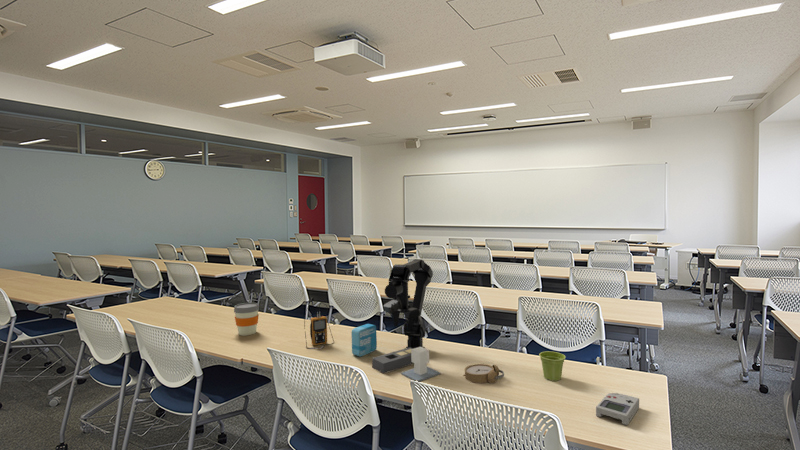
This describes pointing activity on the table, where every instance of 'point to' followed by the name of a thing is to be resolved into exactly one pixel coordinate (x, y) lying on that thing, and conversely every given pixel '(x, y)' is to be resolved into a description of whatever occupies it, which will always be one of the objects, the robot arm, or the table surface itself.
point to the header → (392, 360)
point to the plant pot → (552, 365)
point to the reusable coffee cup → (246, 318)
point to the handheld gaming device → (618, 407)
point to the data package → (364, 340)
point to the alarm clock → (482, 373)
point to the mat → (418, 377)
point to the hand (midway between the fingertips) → (402, 328)
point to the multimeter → (318, 329)
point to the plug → (420, 359)
